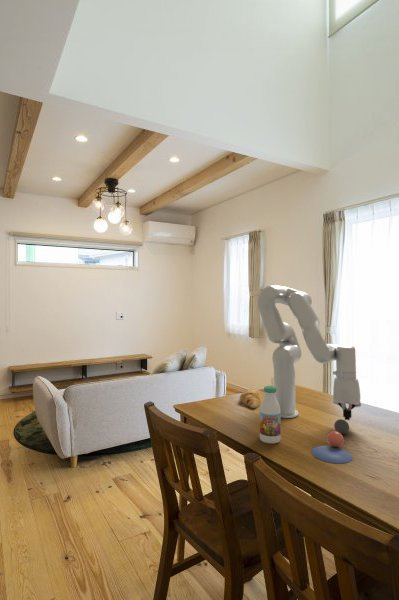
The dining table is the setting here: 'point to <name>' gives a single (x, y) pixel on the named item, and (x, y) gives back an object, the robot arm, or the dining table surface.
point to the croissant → (250, 398)
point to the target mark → (331, 454)
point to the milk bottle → (270, 417)
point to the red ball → (335, 439)
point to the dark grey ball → (341, 426)
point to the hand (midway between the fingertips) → (347, 419)
